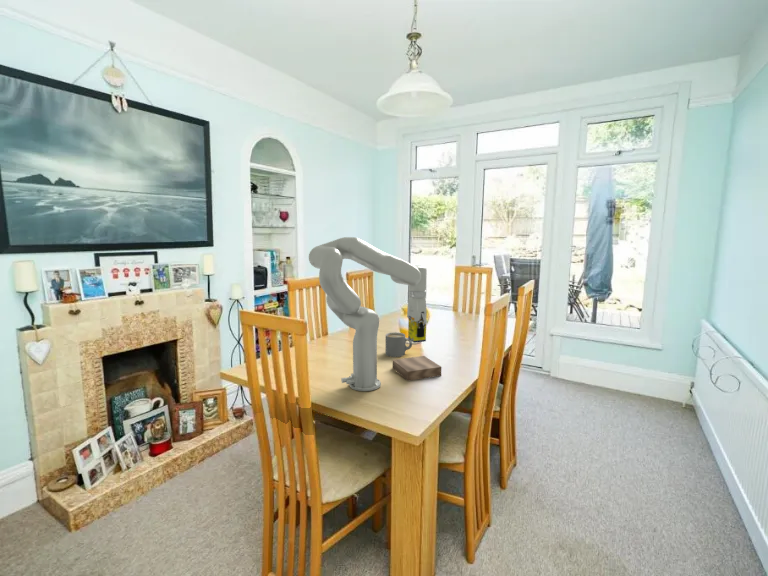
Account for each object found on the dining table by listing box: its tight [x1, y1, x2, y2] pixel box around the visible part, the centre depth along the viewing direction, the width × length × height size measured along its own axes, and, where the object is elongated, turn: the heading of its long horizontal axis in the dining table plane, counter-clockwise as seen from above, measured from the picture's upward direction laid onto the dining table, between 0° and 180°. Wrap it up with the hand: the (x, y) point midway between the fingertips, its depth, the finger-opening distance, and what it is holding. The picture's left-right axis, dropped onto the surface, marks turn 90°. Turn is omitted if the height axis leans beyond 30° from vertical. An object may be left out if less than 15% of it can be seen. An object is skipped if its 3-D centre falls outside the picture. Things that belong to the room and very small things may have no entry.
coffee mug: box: [385, 331, 413, 358], centre depth 193 cm, size 13×10×10 cm
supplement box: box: [407, 316, 427, 344], centre depth 166 cm, size 6×6×11 cm
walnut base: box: [392, 355, 442, 382], centre depth 168 cm, size 16×16×4 cm
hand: (417, 334), depth 166 cm, fingers closed on supplement box, 6 cm apart
